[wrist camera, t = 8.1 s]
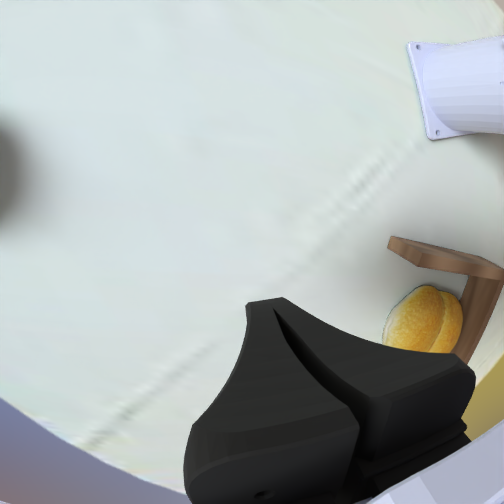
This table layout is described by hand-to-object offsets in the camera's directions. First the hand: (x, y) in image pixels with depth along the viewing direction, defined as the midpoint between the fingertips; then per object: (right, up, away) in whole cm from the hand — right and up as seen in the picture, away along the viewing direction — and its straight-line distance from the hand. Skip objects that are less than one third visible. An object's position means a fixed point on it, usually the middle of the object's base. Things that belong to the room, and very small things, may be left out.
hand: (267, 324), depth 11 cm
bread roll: (+15, -4, +16) cm, 23 cm away
